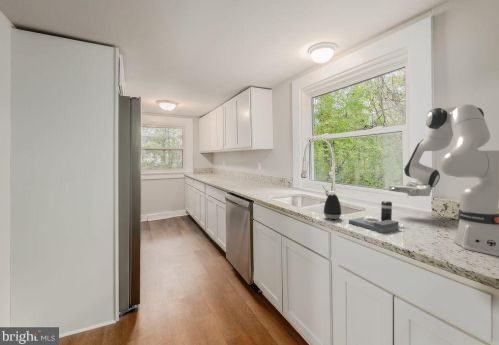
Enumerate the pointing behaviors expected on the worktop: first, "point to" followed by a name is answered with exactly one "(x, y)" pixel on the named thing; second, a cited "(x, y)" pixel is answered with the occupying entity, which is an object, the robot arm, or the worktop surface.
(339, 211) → the pump dispenser
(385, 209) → the lens
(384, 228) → the mount
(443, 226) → the worktop surface
